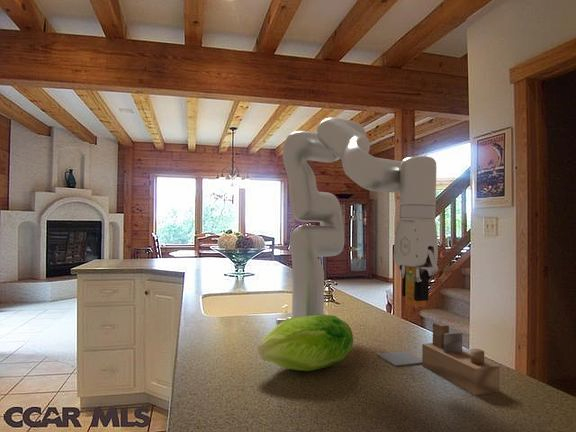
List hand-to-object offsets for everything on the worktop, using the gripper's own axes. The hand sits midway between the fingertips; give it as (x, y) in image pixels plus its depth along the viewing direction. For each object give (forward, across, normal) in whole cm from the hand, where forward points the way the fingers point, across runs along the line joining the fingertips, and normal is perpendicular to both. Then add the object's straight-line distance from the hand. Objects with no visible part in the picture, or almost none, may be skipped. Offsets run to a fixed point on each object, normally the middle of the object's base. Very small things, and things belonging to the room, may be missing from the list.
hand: (414, 297), depth 86 cm
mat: (+17, -9, +2) cm, 19 cm away
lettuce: (+17, -8, -22) cm, 29 cm away
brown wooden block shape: (+17, +4, +8) cm, 19 cm away
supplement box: (+2, 0, 0) cm, 2 cm away
